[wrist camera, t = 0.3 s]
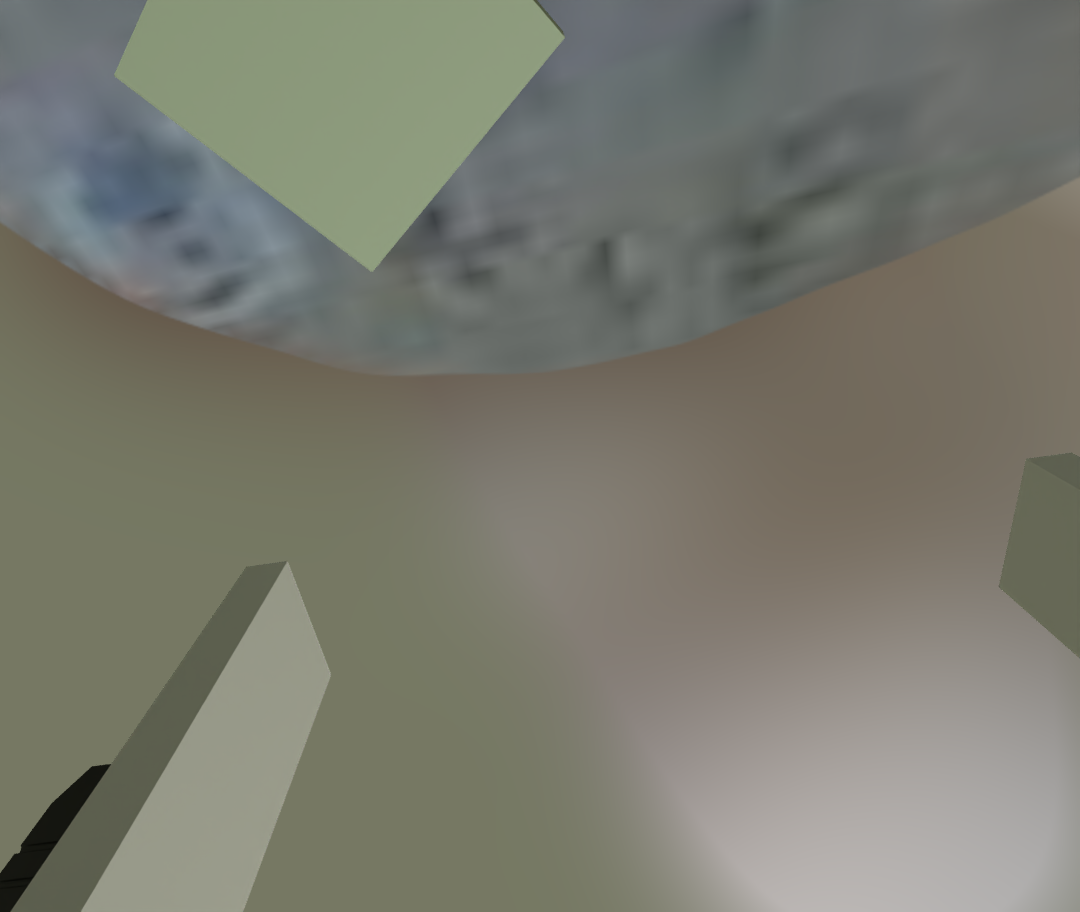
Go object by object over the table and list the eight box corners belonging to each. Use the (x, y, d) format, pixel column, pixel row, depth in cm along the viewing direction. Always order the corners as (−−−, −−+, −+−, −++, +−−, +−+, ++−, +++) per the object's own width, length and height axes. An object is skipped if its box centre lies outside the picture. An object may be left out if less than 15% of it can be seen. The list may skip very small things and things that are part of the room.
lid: (310, -272, 17) (280, -298, 15) (560, 24, 22) (565, 37, 20) (154, 59, 23) (113, 75, 20) (384, 242, 27) (371, 272, 25)
